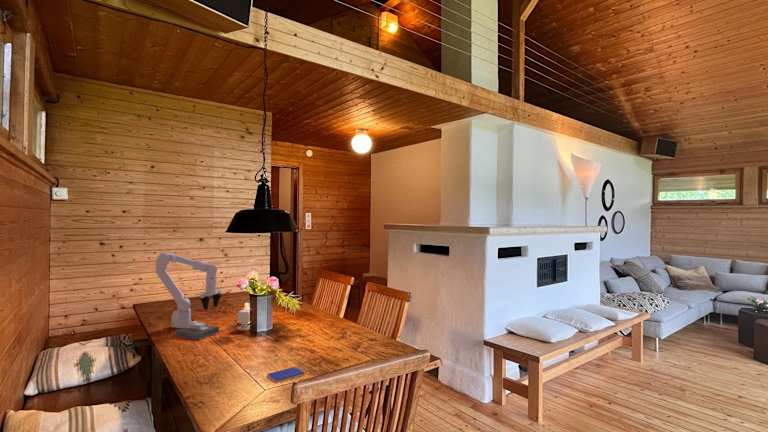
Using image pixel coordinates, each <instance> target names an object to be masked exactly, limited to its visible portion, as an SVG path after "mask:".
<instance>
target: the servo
mask: <svg viewBox="0 0 768 432" xmlns="http://www.w3.org/2000/svg"><path fill="white" fill-rule="evenodd" d="M205 325H206V323H204V322H197V320H194V321H192V322H191V324H189V327H186V329H190V330H197V331H204V330H206V329H208V327H205Z"/></svg>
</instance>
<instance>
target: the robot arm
mask: <svg viewBox="0 0 768 432" xmlns="http://www.w3.org/2000/svg"><path fill="white" fill-rule="evenodd" d="M169 263H171V264H172V263H181V264H184V265H188V266H190V267H192V269H193V270H196V271H199V272H202V273H206V277H205V292H203V293H201V294H199V300H200V302H201V304H202V306H203V307H202V308H203V310H209V309H208V308H209V302H210V299H211V297H212V303H213V307H214V308H215V307H216V308H217V307H218V304H219V302H220V299H221V298H222V295H223V294H222V289H217V285H218V284H217V283H218V282H217V279H218V278H217V275H218V274H217V271H218V268H217V265H216V264H214V263H211V262H208V261H207V262H206V261H205V260H204V261H203V259H201V258H199V259H197V258H196V259H195V260H193V259H190V258H188V257H185V256H182V255H179V254H176V253H174V252H173V253H172V252H171V253H170V252H168V251H163V252H161V253H160V254H159V255H158V256H157V259H156V260H155V273H156V276H158V278H159V280H160V281H161V283H163V285H164V287H165V288H166V290H167V291H168V292H169V294H170V295H171V296H172V298H173V300H174V302H175V304H176V306H177V309H176V310H174V311H173V313H172V315H171V325H170V328H175V329H176V328H177V329H181V328H184V327H187V326H189V324H191V323H192V321H191V319H192V317H191V316H192V315H191V314H192V313H191V312H192V310H191V308H190V307H191V300H190V299H189V298H188V297H186V295H184V293H183V292H182V291H181V290H180V288H179V287H178V285H177V284H176V283H175V281H174V280H173V278H172V277H171V275H170V274H169V272H167V268H168V265H169ZM210 296H211V297H210Z"/></svg>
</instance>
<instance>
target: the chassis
mask: <svg viewBox="0 0 768 432" xmlns="http://www.w3.org/2000/svg"><path fill="white" fill-rule="evenodd" d="M187 327H189V326H187ZM205 327H208V329H206V330H204V331H197V330H190V329H186V327H184V328H177V329H175V330H174V337H178V338H184V339H185V338H186V339H190V340H191V339H192V340H197V341H198V340H199V341H200V340H202V339H205V338H207V337H211V336H212V335H215V334H218V333H220V332H219V331H220V326H216V325H215V326H214V325H209V324H205Z"/></svg>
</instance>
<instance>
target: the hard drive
mask: <svg viewBox="0 0 768 432" xmlns="http://www.w3.org/2000/svg"><path fill="white" fill-rule="evenodd" d="M304 375H305V371H303V370H301V369H300V368H298V367H296V366H292V367H289V368H285V369H280V370H278V371H274V372H270V373H267V374H266V377H268V378H269V379H270V380H272V381H273V382H274V383H280V382H284V381H287V380H291V379H294V378H299V377H302V376H304Z"/></svg>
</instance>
